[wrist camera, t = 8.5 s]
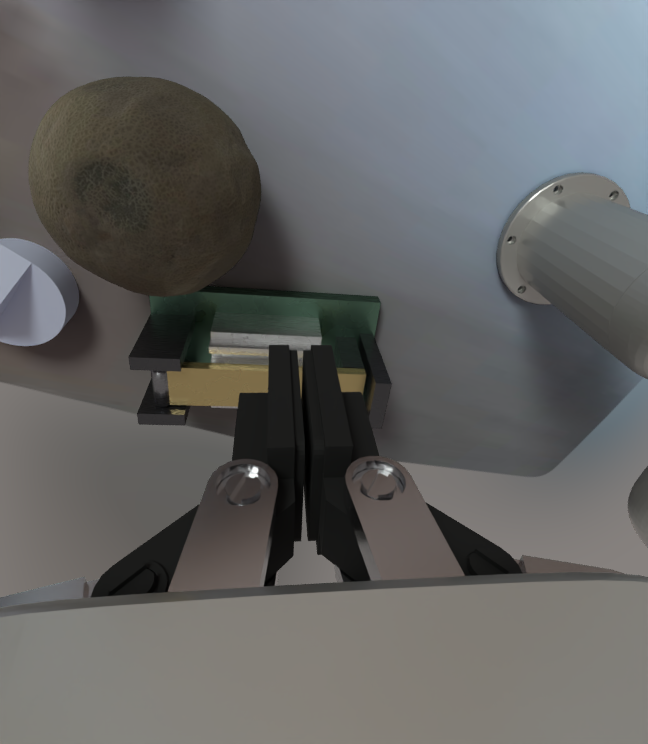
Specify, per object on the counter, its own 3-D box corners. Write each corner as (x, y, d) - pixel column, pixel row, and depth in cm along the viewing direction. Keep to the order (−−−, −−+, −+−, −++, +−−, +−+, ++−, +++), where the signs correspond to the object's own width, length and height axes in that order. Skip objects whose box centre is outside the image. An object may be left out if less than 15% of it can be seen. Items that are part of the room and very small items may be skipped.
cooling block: (377, 296, 46) (401, 349, 37) (360, 392, 52) (377, 456, 44) (152, 282, 43) (120, 335, 34) (163, 385, 49) (139, 452, 41)
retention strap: (363, 367, 42) (367, 376, 40) (357, 401, 44) (360, 411, 43) (152, 358, 39) (148, 368, 38) (156, 395, 41) (152, 406, 40)
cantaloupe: (182, 26, 33) (124, -3, 20) (294, 196, 40) (303, 252, 27) (47, 146, 36) (-73, 185, 24) (173, 283, 43) (132, 368, 31)
